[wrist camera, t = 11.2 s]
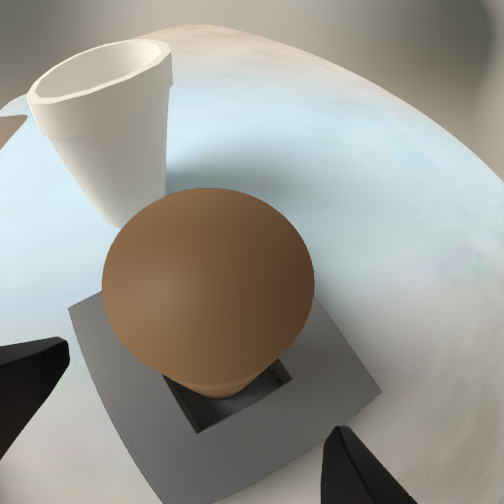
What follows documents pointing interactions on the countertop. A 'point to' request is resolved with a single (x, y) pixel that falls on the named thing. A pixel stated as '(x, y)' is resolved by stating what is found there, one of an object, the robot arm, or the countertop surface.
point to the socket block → (232, 426)
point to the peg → (208, 288)
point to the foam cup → (110, 123)
